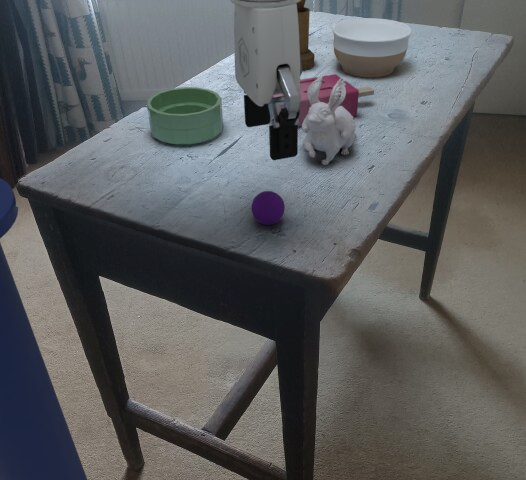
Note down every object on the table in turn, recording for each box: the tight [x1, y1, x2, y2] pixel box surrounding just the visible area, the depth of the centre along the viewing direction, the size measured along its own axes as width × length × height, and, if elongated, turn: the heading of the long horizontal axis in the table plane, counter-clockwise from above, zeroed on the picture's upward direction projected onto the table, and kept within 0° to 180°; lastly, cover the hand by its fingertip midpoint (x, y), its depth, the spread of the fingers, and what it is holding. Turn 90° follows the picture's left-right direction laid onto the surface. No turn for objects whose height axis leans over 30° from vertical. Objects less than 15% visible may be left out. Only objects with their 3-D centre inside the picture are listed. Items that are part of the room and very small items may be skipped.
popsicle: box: [270, 73, 375, 128], centre depth 105 cm, size 9×5×20 cm
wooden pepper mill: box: [296, 0, 315, 71], centre depth 121 cm, size 7×6×18 cm
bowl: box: [331, 17, 413, 78], centre depth 122 cm, size 16×16×8 cm
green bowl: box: [146, 86, 224, 146], centre depth 99 cm, size 12×12×6 cm
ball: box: [250, 190, 286, 226], centre depth 77 cm, size 4×4×4 cm
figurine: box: [301, 74, 357, 166], centre depth 91 cm, size 8×15×13 cm, turn 157°
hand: (270, 140), depth 71 cm, fingers open, 9 cm apart
